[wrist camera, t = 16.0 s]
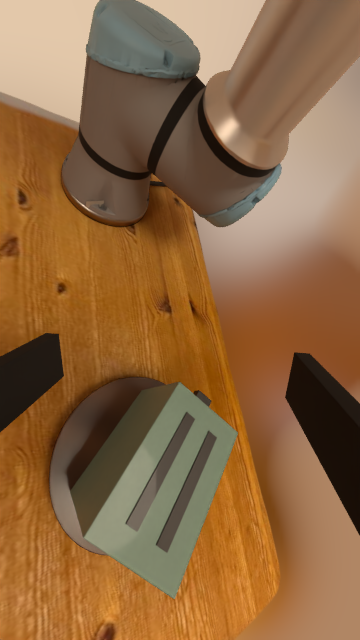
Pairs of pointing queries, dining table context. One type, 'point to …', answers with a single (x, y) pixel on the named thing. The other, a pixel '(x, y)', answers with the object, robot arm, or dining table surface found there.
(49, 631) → the dining table surface
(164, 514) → the toaster
